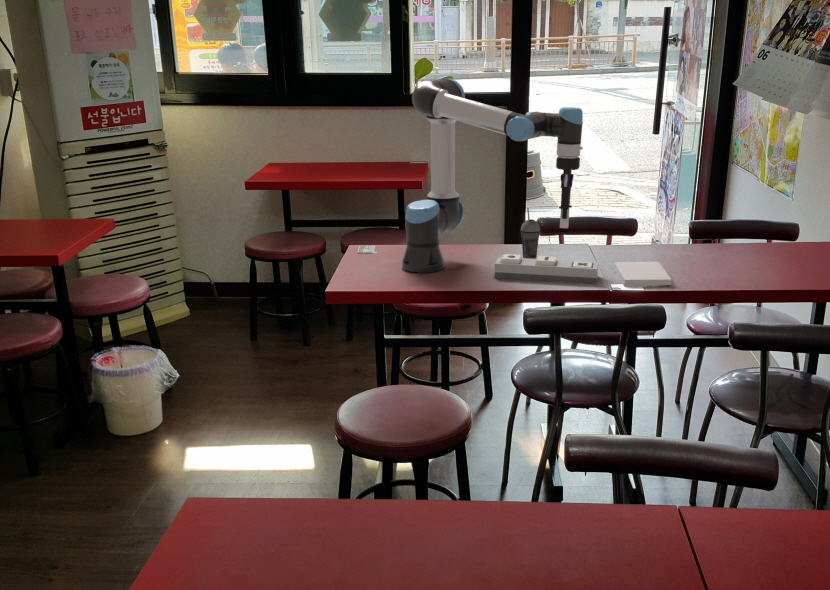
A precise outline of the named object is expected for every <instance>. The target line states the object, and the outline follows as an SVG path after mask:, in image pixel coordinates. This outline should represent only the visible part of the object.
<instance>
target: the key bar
mask: <svg viewBox="0 0 830 590" xmlns="http://www.w3.org/2000/svg"><path fill="white" fill-rule="evenodd" d="M536 259H537V265H544V266H556V260H557V256H548V255H547V256H546V255H538V256H537V258H536Z"/></svg>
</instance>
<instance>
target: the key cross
mask: <svg viewBox="0 0 830 590" xmlns="http://www.w3.org/2000/svg"><path fill="white" fill-rule="evenodd" d="M591 262H592V261H585V262H574V264H573V267H581V268H592V263H591Z"/></svg>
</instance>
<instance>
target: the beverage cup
mask: <svg viewBox="0 0 830 590" xmlns="http://www.w3.org/2000/svg"><path fill="white" fill-rule="evenodd" d="M526 210H527V211H526V212H527V220H525V221H524V222H523V223H522V224H521V227H520V230H519V231H520V237H521V246H522V258H528V259H537V258H538V248H539V238H540V235H541V231H542V230H541V227H540V224H539V223H538V222H537V220H535V219H530V208H529V207H526Z"/></svg>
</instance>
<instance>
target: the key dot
mask: <svg viewBox="0 0 830 590" xmlns="http://www.w3.org/2000/svg"><path fill="white" fill-rule="evenodd" d="M501 257H502V258H501V263H507V264H520V263H521V258H522V254H511V253H510V254H509V253H508V254H507V253H504V254H503V255H502V256H501Z"/></svg>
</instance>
